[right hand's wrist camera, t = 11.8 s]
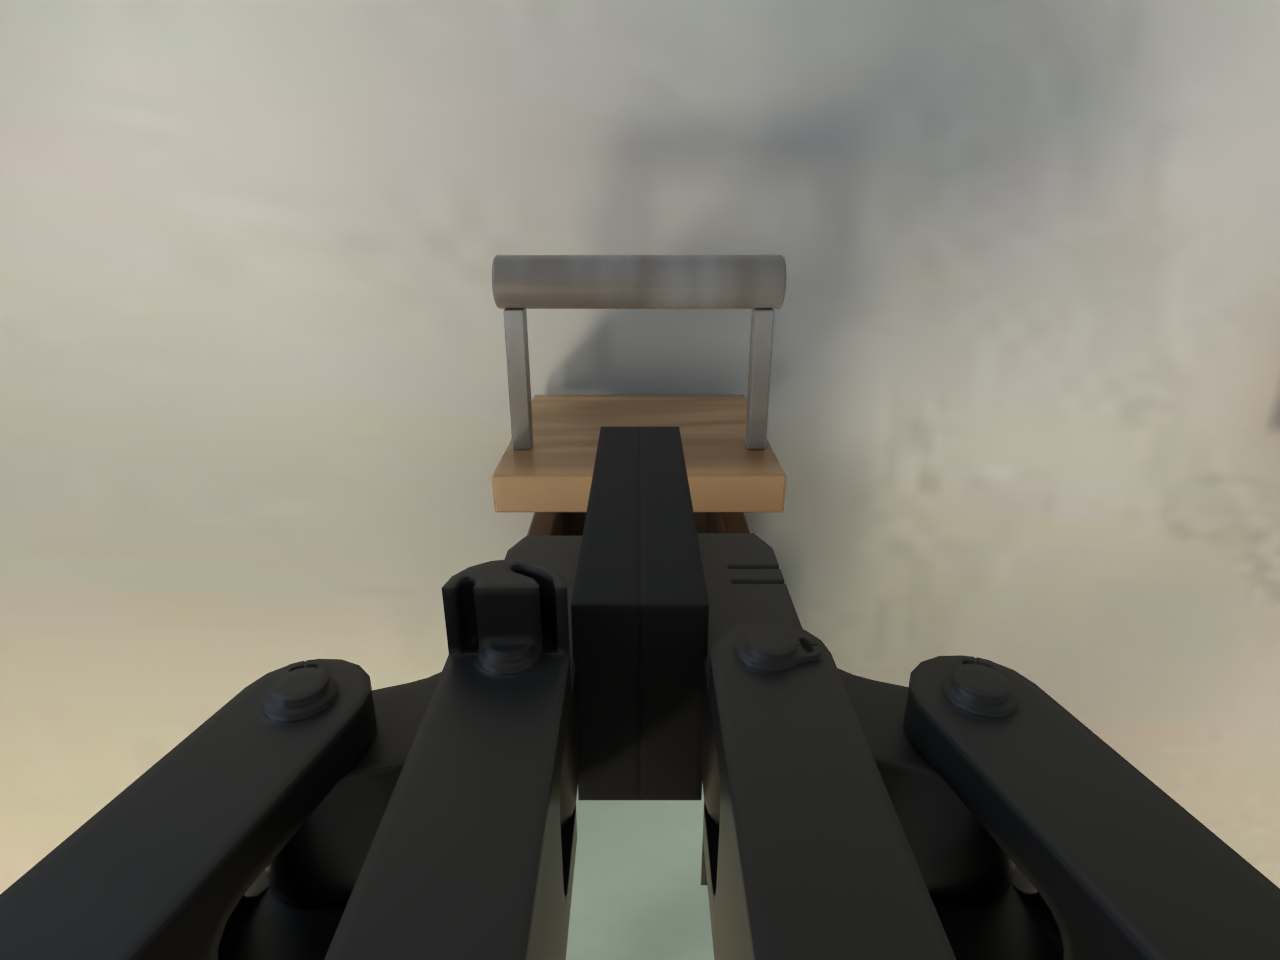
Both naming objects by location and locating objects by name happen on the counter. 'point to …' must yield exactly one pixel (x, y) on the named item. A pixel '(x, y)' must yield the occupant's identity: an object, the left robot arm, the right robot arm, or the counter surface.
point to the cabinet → (639, 882)
